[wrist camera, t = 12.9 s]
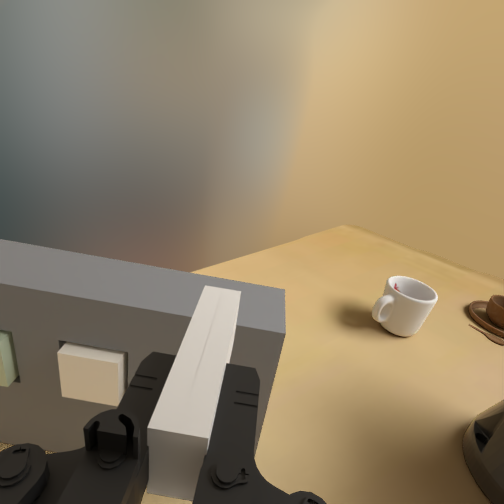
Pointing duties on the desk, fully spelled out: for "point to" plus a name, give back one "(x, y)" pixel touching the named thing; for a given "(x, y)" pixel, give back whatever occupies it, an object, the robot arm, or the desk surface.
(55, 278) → the button panel
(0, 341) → the sage green button
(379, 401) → the desk surface
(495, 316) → the place setting
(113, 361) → the cream button
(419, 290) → the cup
